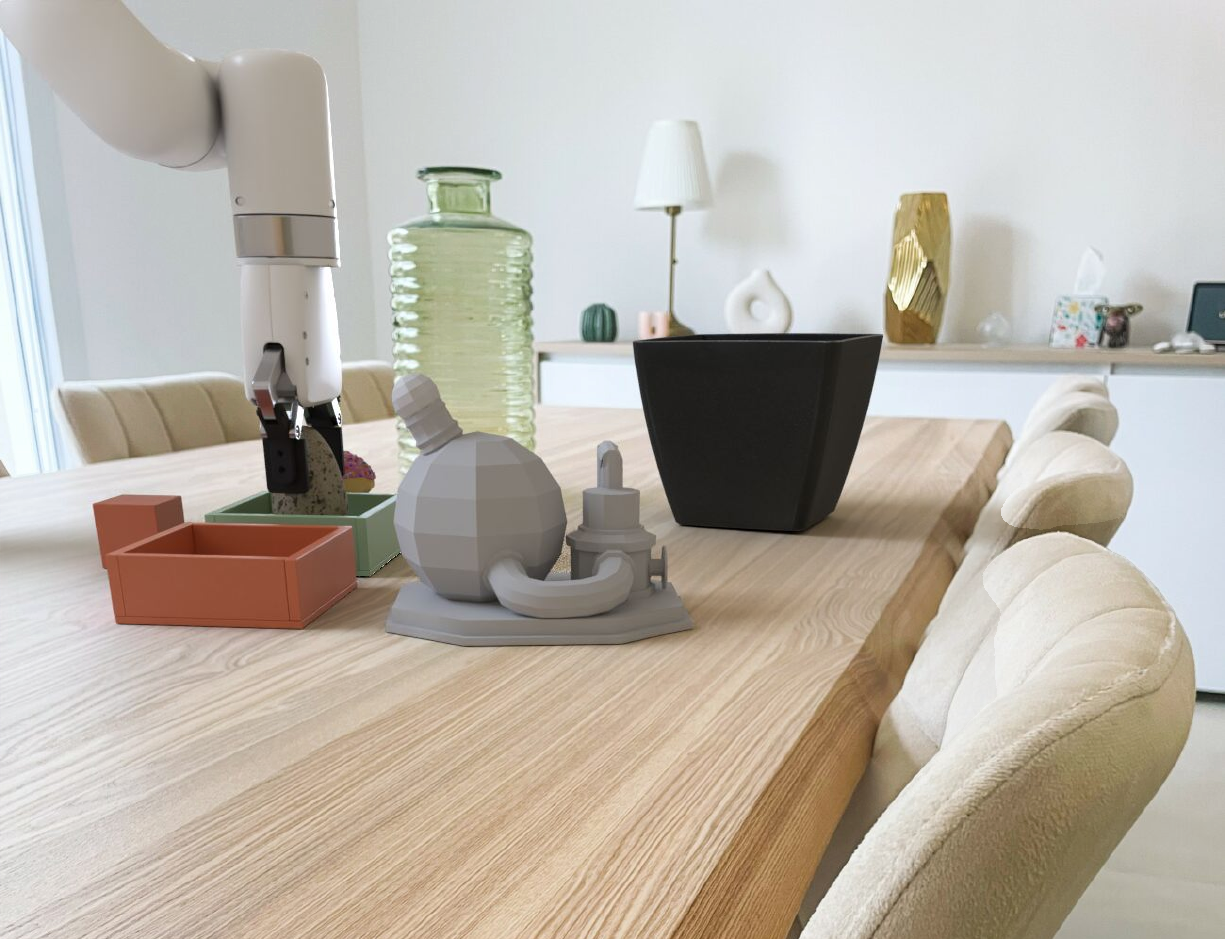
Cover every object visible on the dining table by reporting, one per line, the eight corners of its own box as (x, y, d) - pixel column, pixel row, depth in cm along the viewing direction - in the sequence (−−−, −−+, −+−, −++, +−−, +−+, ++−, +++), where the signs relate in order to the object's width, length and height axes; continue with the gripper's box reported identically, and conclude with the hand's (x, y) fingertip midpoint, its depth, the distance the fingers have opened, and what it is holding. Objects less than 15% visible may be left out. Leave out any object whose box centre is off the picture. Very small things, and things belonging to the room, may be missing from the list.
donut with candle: (397, 526, 115) (389, 391, 110) (335, 540, 108) (323, 397, 103) (328, 518, 119) (317, 387, 114) (264, 531, 112) (249, 393, 107)
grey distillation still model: (376, 646, 75) (358, 380, 69) (401, 591, 89) (388, 367, 83) (699, 643, 76) (709, 382, 70) (674, 589, 90) (679, 368, 84)
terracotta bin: (115, 623, 80) (104, 554, 78) (193, 582, 92) (185, 522, 90) (302, 629, 79) (295, 559, 77) (357, 587, 91) (352, 525, 89)
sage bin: (211, 573, 95) (203, 514, 93) (268, 543, 106) (262, 490, 105) (370, 577, 94) (365, 518, 92) (410, 546, 105) (406, 493, 104)
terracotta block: (102, 568, 96) (92, 503, 94) (130, 556, 101) (121, 494, 99) (163, 569, 96) (154, 505, 94) (189, 557, 101) (181, 495, 99)
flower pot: (626, 528, 114) (628, 335, 108) (693, 500, 131) (698, 330, 124) (825, 544, 108) (840, 339, 101) (870, 512, 124) (885, 333, 117)
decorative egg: (324, 543, 104) (314, 420, 100) (366, 553, 100) (356, 425, 96) (262, 553, 100) (249, 425, 96) (303, 563, 96) (290, 430, 92)
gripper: (278, 249, 99) (298, 469, 106) (191, 240, 83) (220, 500, 90) (369, 250, 99) (382, 471, 105) (298, 240, 83) (320, 502, 90)
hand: (308, 483), depth 98 cm, fingers open, 8 cm apart
